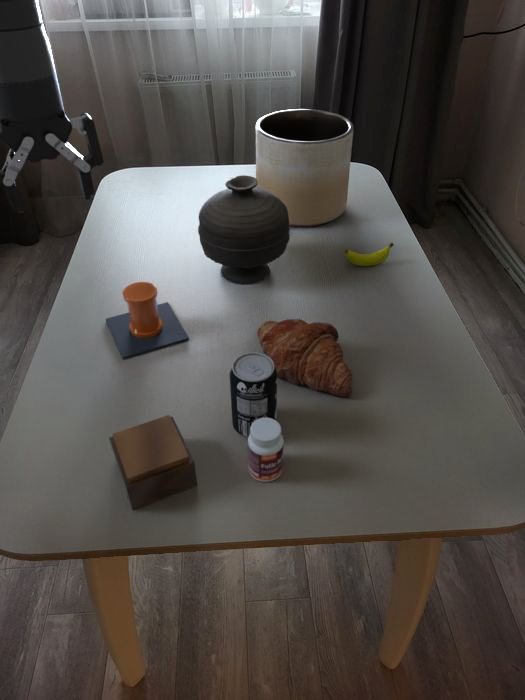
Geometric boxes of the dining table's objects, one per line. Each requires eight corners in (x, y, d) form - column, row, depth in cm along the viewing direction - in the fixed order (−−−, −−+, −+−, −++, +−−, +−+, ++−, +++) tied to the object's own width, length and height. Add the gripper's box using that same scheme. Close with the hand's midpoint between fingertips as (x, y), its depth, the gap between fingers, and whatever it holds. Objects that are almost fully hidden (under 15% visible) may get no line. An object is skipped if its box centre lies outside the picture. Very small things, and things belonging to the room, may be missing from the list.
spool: (147, 342, 97) (140, 305, 92) (123, 330, 100) (115, 293, 94) (169, 325, 101) (164, 288, 96) (145, 314, 103) (139, 278, 98)
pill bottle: (263, 489, 75) (263, 449, 69) (241, 466, 77) (239, 426, 72) (289, 470, 77) (291, 430, 71) (267, 449, 80) (267, 409, 74)
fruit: (388, 260, 118) (392, 240, 115) (391, 266, 116) (395, 245, 113) (341, 264, 117) (344, 243, 114) (344, 269, 116) (346, 248, 112)
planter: (271, 183, 147) (271, 104, 134) (353, 194, 142) (362, 113, 129) (243, 221, 131) (240, 136, 118) (335, 236, 126) (343, 148, 113)
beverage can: (257, 402, 87) (256, 343, 79) (285, 427, 83) (287, 368, 75) (223, 422, 84) (219, 363, 76) (251, 449, 80) (249, 390, 72)
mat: (122, 359, 94) (122, 357, 94) (105, 320, 103) (105, 318, 102) (189, 340, 98) (189, 337, 98) (168, 303, 107) (167, 301, 106)
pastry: (244, 390, 89) (243, 352, 84) (258, 330, 100) (258, 294, 95) (350, 401, 87) (356, 363, 82) (352, 338, 98) (357, 302, 93)
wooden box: (132, 510, 72) (124, 483, 68) (115, 460, 78) (107, 432, 74) (197, 485, 75) (193, 457, 71) (176, 439, 81) (171, 411, 77)
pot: (185, 286, 110) (181, 187, 98) (217, 249, 124) (217, 158, 112) (271, 304, 106) (278, 203, 94) (295, 263, 120) (303, 171, 108)
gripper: (-46, 86, 58) (1, 227, 68) (91, 70, 63) (115, 204, 73) (-51, 69, 63) (-6, 202, 73) (76, 56, 68) (101, 183, 78)
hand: (54, 203), depth 73 cm, fingers open, 8 cm apart
